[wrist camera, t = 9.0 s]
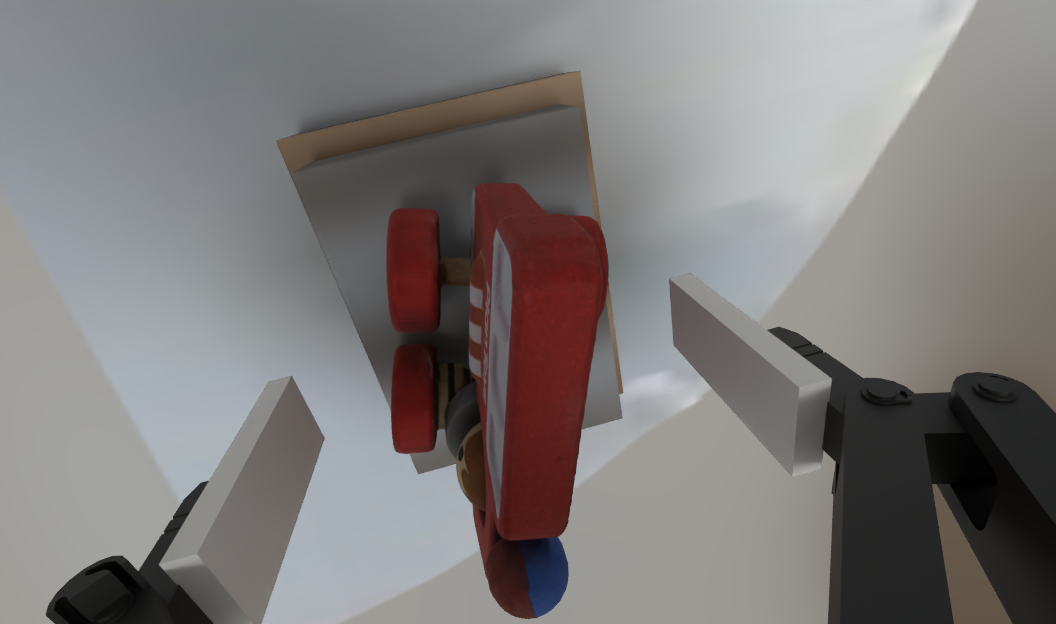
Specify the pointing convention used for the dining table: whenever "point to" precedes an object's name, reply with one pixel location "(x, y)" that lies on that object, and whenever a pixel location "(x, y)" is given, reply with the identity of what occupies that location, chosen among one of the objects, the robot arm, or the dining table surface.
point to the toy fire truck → (503, 374)
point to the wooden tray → (447, 208)
